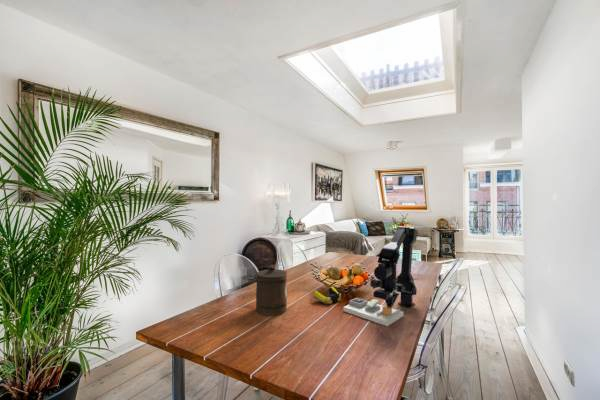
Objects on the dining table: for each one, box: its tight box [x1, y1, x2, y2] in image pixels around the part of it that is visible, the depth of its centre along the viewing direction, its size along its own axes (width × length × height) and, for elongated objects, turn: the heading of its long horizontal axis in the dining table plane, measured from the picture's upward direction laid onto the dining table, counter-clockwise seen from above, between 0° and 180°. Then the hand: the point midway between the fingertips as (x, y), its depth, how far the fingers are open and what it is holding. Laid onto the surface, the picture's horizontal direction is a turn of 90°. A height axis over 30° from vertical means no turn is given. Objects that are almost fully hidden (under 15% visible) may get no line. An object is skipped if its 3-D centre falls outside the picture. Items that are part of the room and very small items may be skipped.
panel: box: [343, 297, 404, 327], centre depth 135 cm, size 15×23×4 cm, turn 45°
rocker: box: [367, 298, 380, 308], centre depth 135 cm, size 6×3×1 cm, turn 134°
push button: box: [354, 298, 364, 303], centre depth 141 cm, size 4×4×2 cm
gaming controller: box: [313, 286, 342, 305], centre depth 152 cm, size 15×6×10 cm
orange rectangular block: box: [382, 305, 393, 315], centre depth 128 cm, size 2×4×3 cm, turn 44°
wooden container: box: [255, 264, 288, 317], centre depth 139 cm, size 15×15×22 cm
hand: (389, 309), depth 130 cm, fingers closed
